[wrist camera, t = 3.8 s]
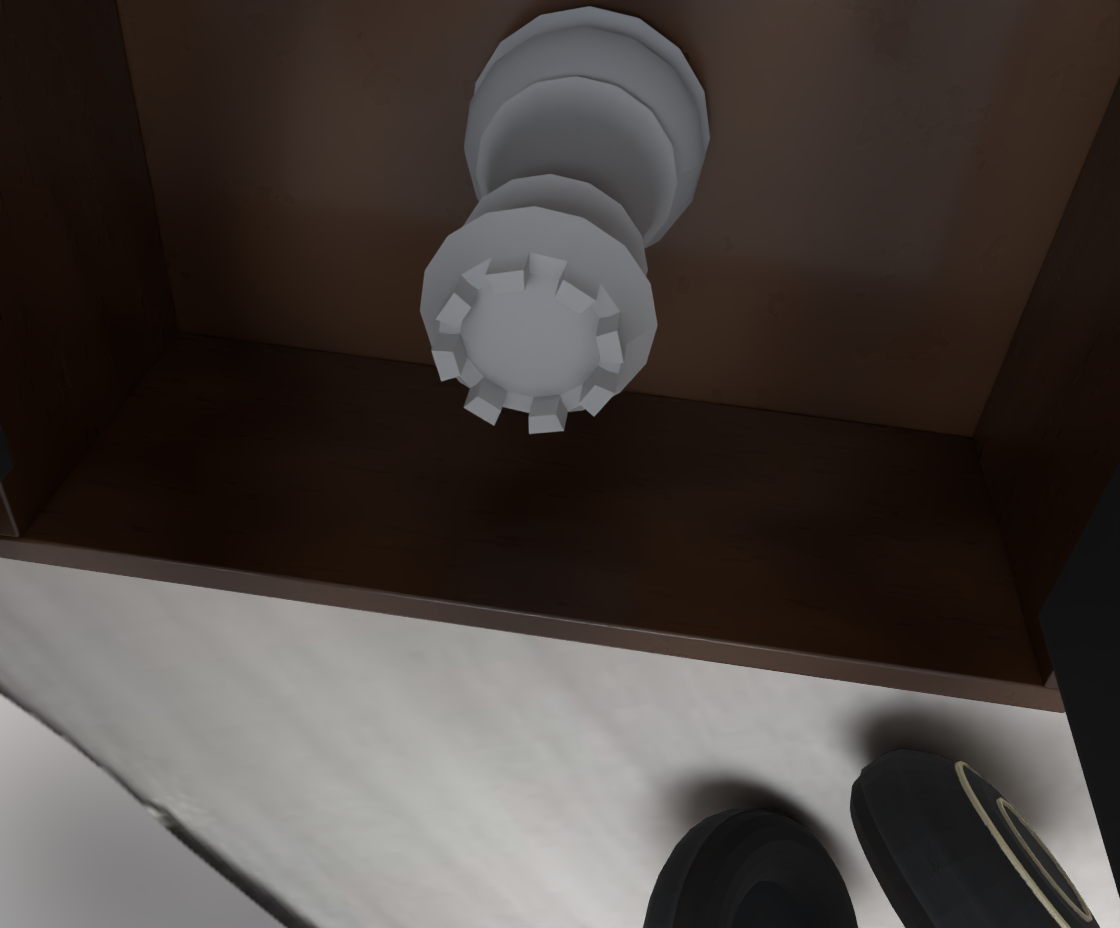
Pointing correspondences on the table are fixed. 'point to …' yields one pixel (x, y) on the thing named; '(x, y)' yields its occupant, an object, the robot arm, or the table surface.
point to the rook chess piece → (564, 215)
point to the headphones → (874, 860)
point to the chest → (655, 391)
